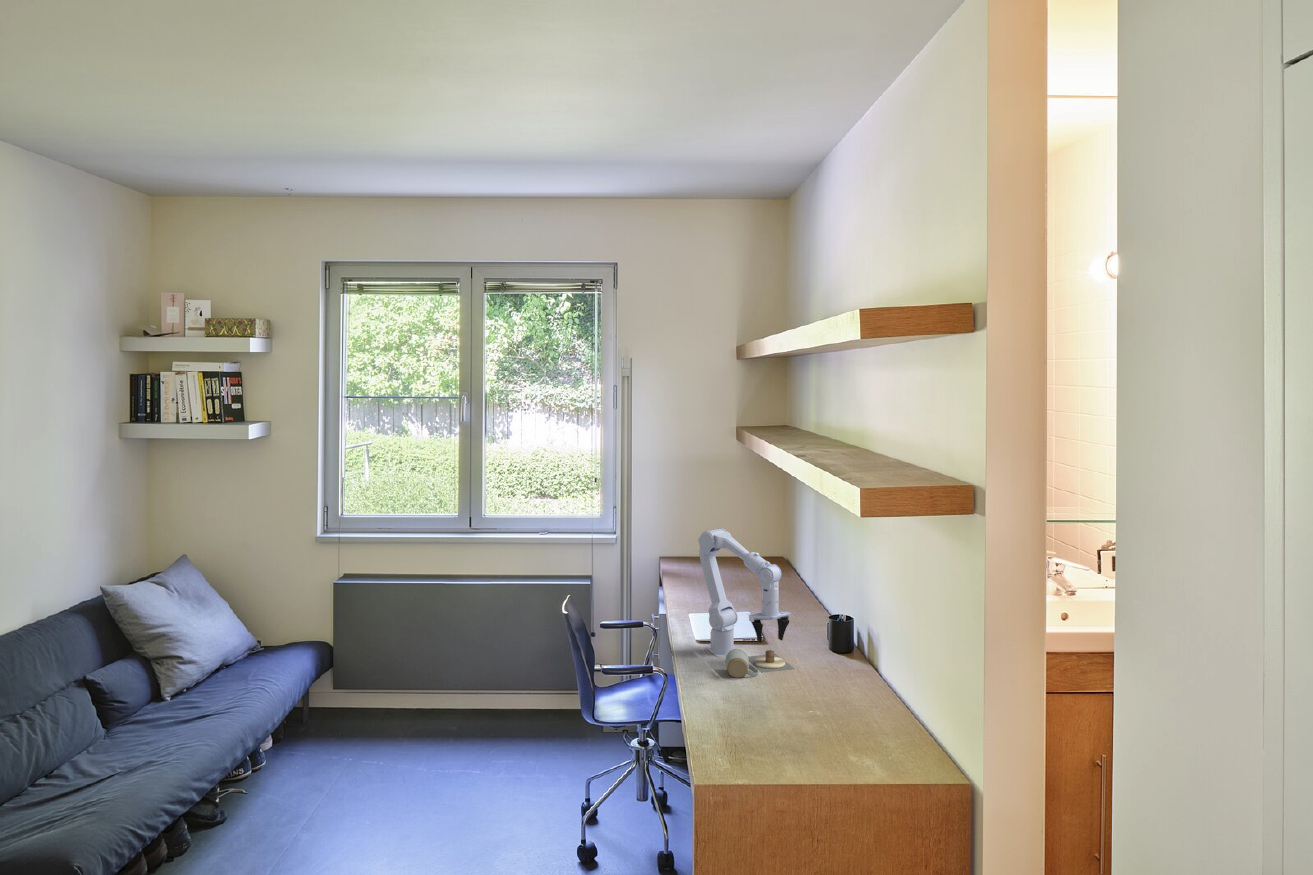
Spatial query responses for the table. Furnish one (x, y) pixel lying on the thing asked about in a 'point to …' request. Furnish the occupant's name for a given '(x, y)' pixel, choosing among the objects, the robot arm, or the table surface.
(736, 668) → the ceramic mug
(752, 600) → the table surface
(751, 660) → the mat
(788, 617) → the robot arm
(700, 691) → the table surface
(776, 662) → the lid
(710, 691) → the table surface
